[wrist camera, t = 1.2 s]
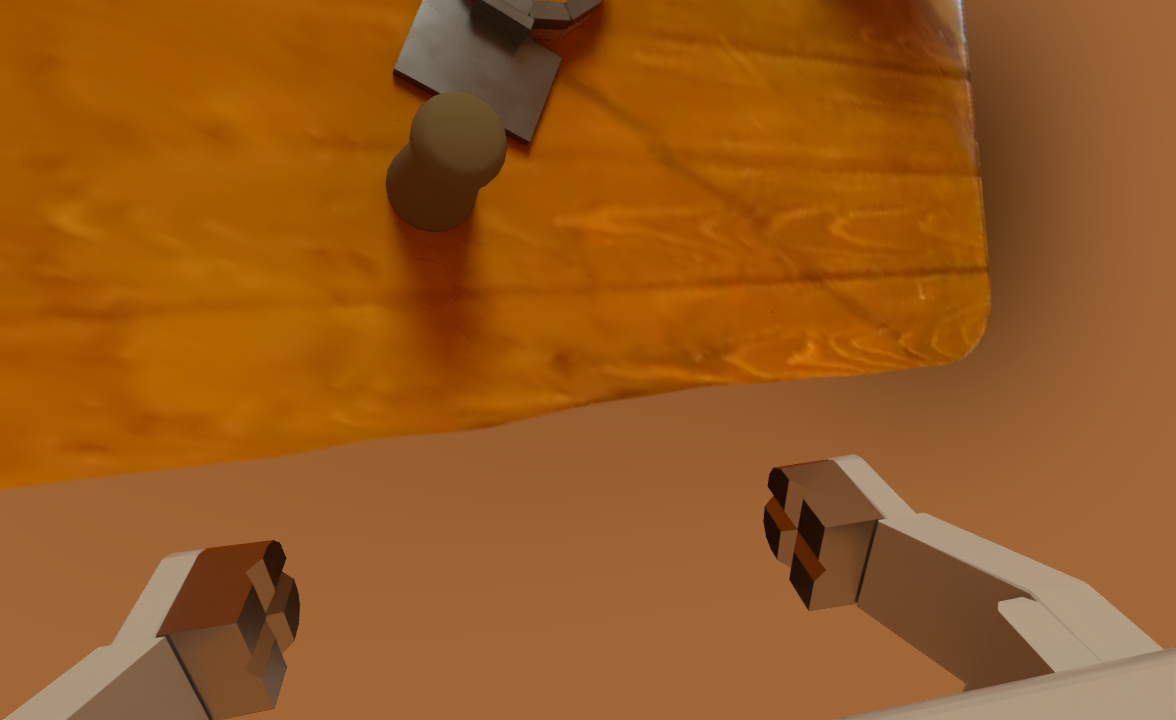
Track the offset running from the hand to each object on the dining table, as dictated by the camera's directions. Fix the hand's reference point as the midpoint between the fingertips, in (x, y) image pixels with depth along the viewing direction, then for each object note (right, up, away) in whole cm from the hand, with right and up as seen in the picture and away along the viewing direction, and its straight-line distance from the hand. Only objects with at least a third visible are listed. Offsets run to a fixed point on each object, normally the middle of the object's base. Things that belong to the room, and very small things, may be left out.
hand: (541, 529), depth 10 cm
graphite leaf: (-5, +29, +34) cm, 45 cm away
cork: (-10, +15, +32) cm, 36 cm away
